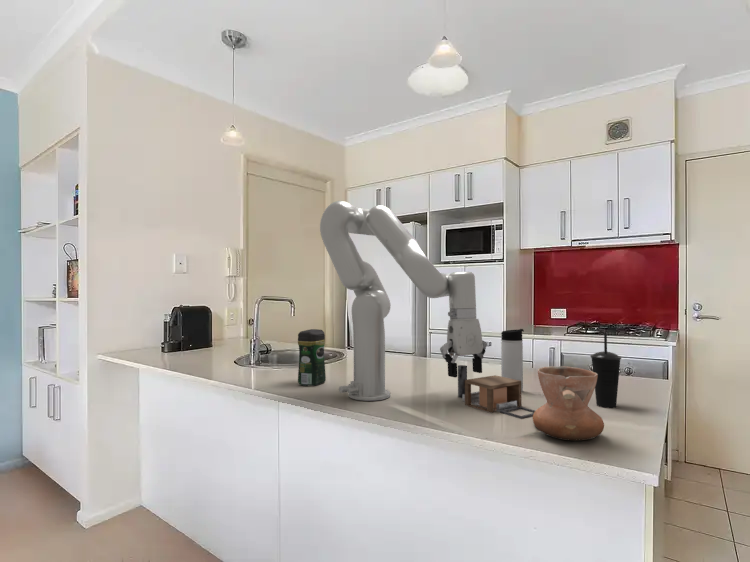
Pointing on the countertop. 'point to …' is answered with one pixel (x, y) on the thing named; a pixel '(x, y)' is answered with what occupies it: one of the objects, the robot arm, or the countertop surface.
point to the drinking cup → (606, 376)
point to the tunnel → (491, 384)
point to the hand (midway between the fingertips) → (465, 374)
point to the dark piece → (518, 415)
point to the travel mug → (512, 355)
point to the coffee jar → (311, 357)
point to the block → (498, 396)
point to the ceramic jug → (567, 404)
